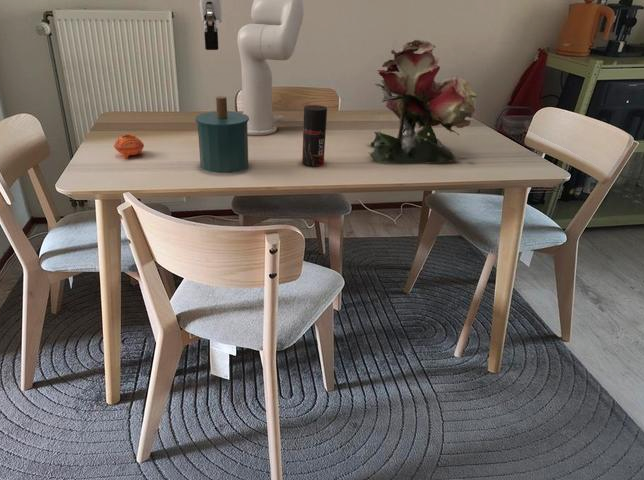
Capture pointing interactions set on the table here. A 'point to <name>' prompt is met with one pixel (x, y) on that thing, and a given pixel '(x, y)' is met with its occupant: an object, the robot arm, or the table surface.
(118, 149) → the pot
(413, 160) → the rose bouquet
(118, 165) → the table surface
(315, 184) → the table surface
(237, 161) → the tin
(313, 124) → the deodorant
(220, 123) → the lid
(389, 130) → the table surface
